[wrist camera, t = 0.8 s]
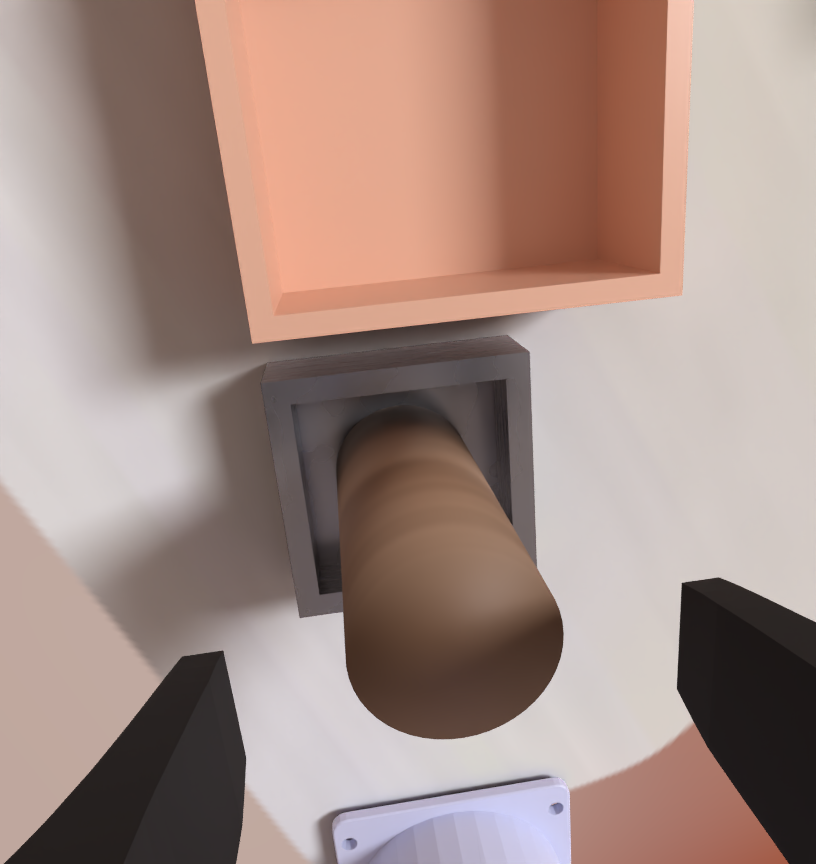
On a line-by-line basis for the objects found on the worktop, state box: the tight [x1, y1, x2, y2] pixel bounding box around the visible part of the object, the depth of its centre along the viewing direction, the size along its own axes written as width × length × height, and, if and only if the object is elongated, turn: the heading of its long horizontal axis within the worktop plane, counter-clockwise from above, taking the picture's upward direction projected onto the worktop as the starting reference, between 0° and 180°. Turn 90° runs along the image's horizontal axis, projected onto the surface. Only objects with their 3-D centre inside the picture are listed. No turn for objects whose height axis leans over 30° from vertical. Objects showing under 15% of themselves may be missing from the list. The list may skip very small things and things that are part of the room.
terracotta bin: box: [195, 0, 694, 344], centre depth 15 cm, size 9×9×4 cm
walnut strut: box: [336, 405, 564, 739], centre depth 15 cm, size 4×4×8 cm
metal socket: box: [261, 335, 537, 618], centre depth 18 cm, size 6×6×2 cm
